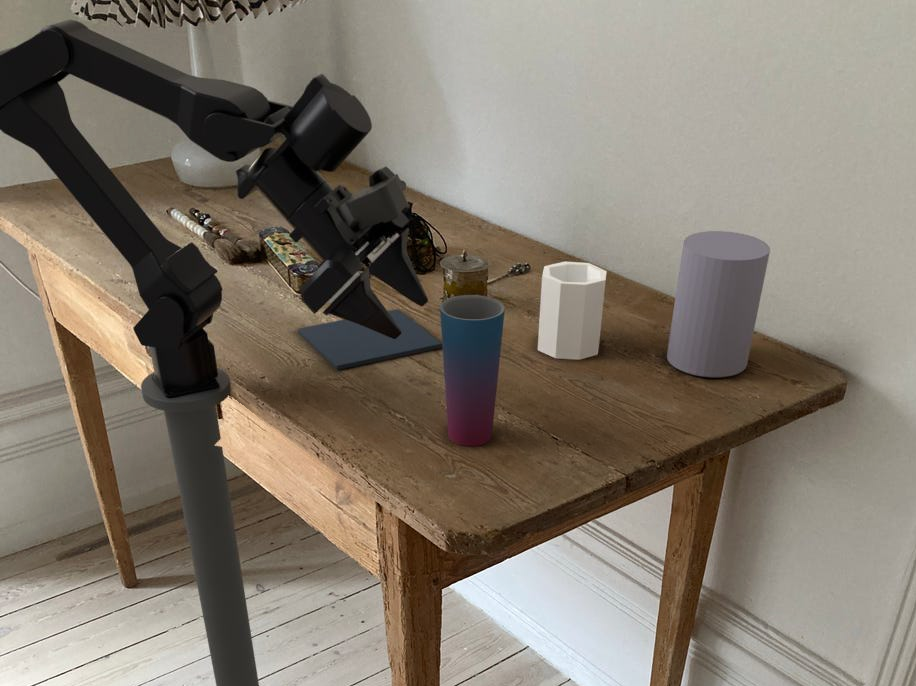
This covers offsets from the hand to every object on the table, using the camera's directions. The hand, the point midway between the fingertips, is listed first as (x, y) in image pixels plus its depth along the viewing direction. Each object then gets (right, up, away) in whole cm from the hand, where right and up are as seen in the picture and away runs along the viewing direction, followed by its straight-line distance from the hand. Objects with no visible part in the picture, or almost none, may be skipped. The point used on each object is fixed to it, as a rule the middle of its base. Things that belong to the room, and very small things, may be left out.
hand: (412, 319), depth 110 cm
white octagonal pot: (+18, +6, +28) cm, 34 cm away
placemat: (-7, +6, +26) cm, 28 cm away
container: (+37, +2, +24) cm, 44 cm away
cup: (+6, -11, +7) cm, 15 cm away
